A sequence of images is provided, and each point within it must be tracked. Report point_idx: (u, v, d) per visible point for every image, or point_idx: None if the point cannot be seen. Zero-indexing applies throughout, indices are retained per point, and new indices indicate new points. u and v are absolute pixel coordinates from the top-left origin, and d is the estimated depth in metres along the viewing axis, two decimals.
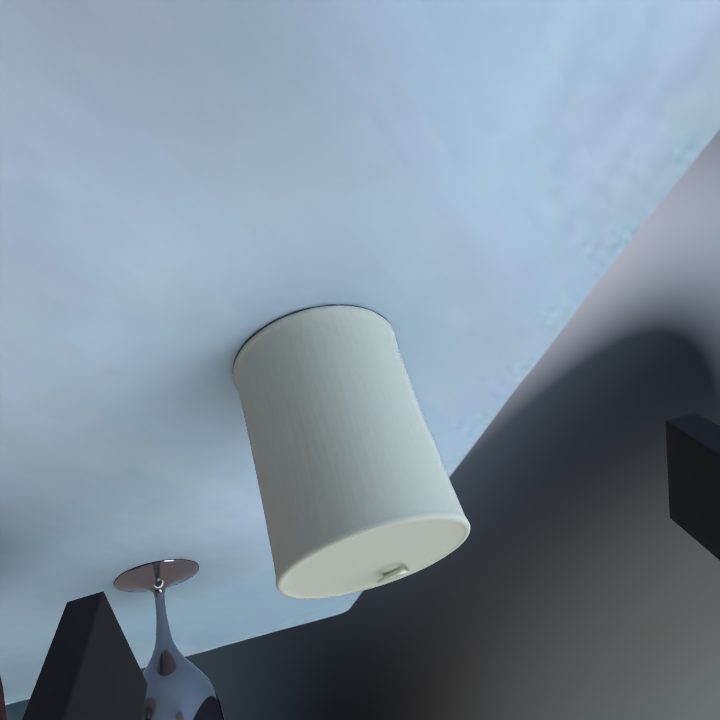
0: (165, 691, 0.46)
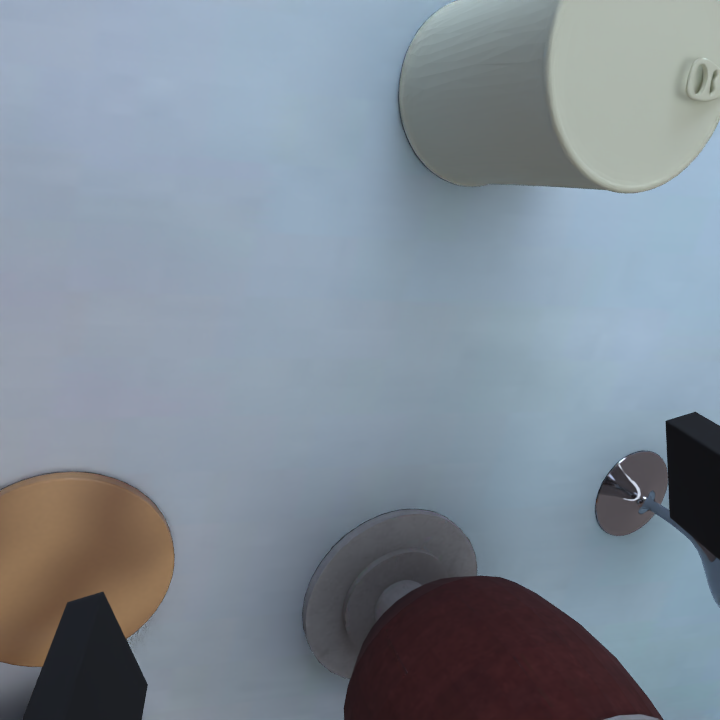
0: None
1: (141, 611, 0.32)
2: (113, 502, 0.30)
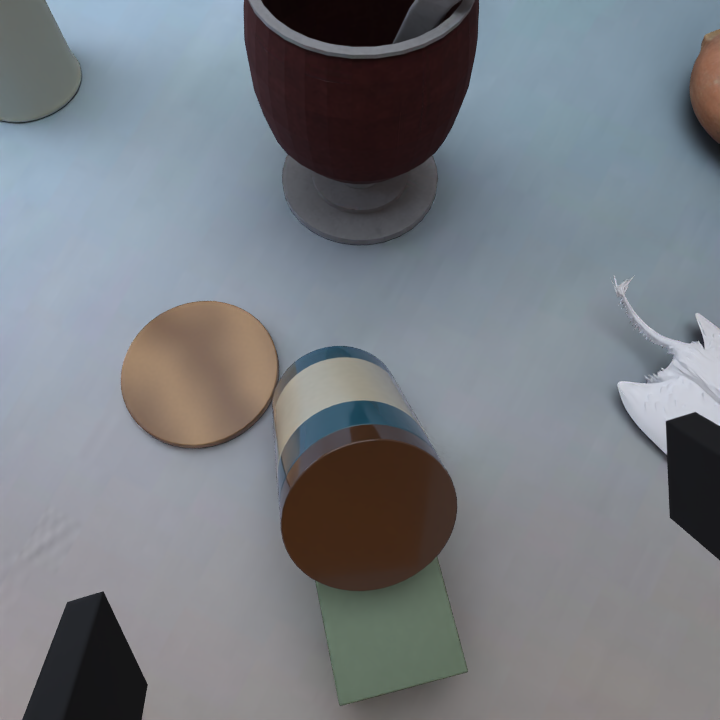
0: None
1: (258, 334, 0.42)
2: (163, 324, 0.43)
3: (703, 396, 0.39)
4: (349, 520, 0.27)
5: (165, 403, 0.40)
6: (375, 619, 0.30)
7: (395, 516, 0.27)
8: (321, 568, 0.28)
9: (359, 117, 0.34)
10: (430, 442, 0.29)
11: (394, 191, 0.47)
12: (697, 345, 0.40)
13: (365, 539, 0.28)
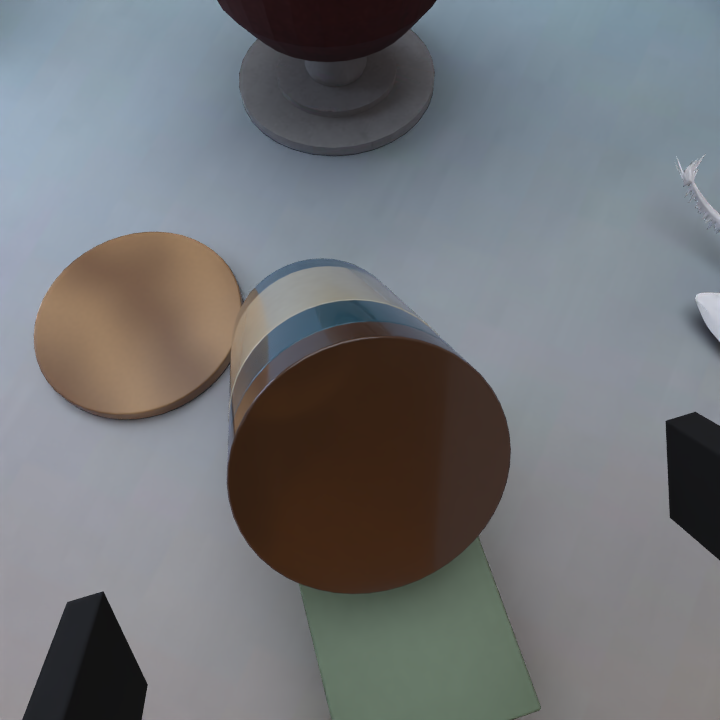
0: None
1: (214, 268, 0.32)
2: (89, 264, 0.33)
3: None
4: (340, 479, 0.17)
5: (92, 361, 0.30)
6: (393, 636, 0.20)
7: (413, 468, 0.17)
8: (301, 560, 0.17)
9: None
10: None
11: (381, 87, 0.37)
12: None
13: (368, 508, 0.17)
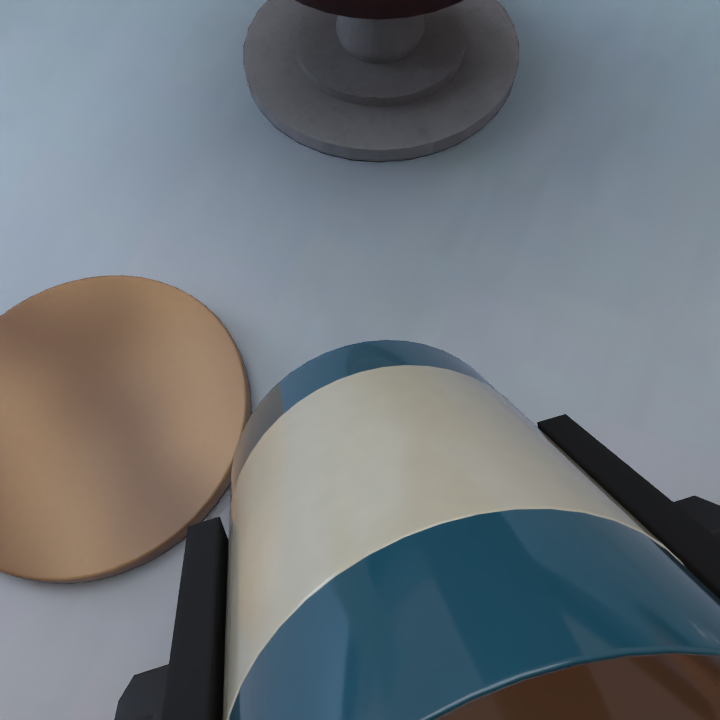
0: None
1: (205, 333, 0.21)
2: (17, 326, 0.22)
3: None
4: None
5: (12, 487, 0.19)
6: None
7: None
8: None
9: None
10: None
11: (445, 63, 0.26)
12: None
13: None
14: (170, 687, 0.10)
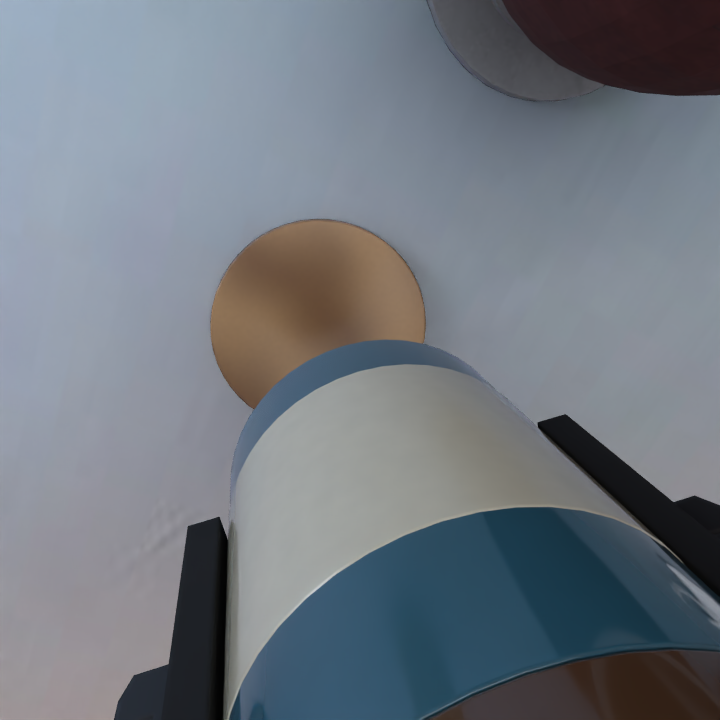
0: None
1: (397, 275, 0.30)
2: (257, 263, 0.29)
3: None
4: None
5: None
6: None
7: None
8: None
9: None
10: None
11: None
12: None
13: None
14: (170, 687, 0.10)
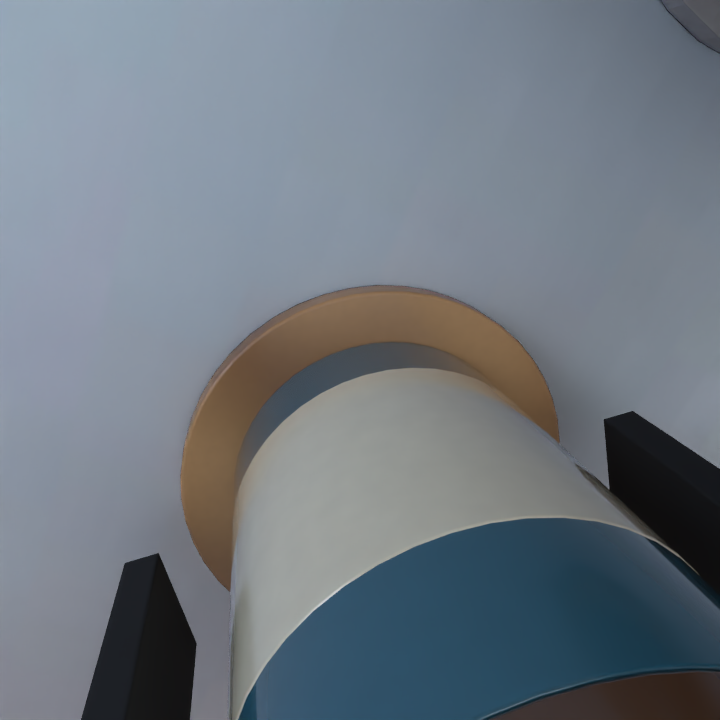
0: None
1: (519, 383, 0.17)
2: (268, 372, 0.15)
3: None
4: None
5: None
6: None
7: None
8: None
9: None
10: None
11: None
12: None
13: None
14: None
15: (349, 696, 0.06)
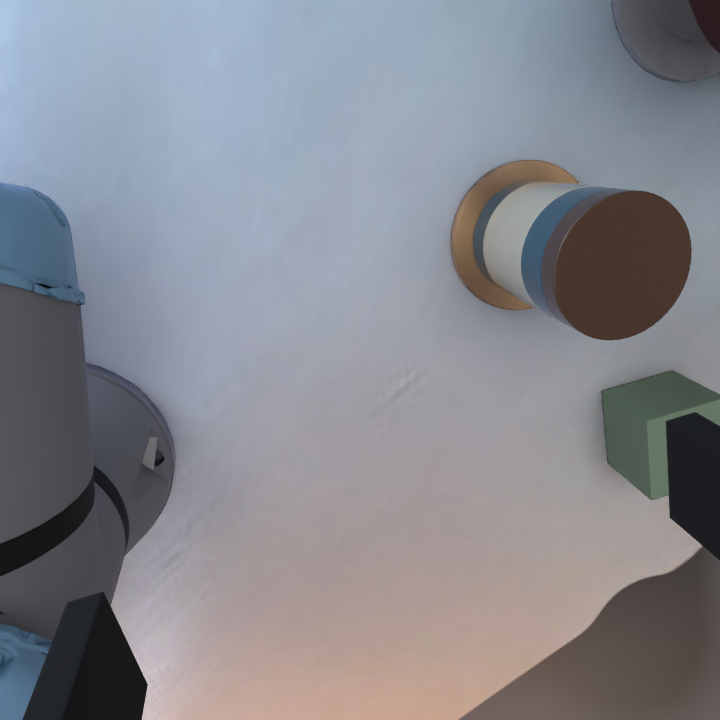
0: None
1: None
2: (490, 189, 0.42)
3: None
4: (607, 269, 0.32)
5: None
6: None
7: (643, 266, 0.33)
8: (581, 316, 0.33)
9: None
10: None
11: None
12: None
13: (617, 288, 0.33)
14: None
15: (563, 205, 0.33)
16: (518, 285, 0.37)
